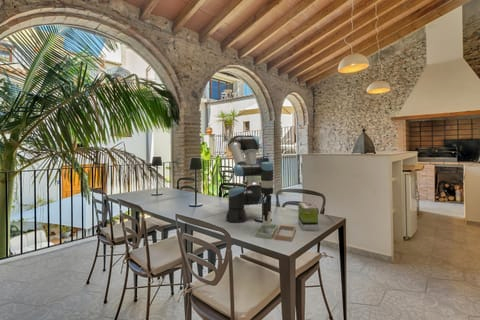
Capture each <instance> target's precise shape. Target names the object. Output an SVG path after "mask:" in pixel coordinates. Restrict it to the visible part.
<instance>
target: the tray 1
mask: <svg viewBox="0 0 480 320" xmlns="http://www.w3.org/2000/svg"><path fill="white" fill-rule="evenodd" d="M263 228H264V229H265V228H268V229H273V230H272V232H271V233H265V232H261V231H262V230H263ZM278 228H279V226H278V224H272V223H271V225H270V226H264V225H263V223H262V224H260V226H259V227H258V229H257V230H256V231H255V232H254V233H255V235H254V236H255V238H256V237H257V238H262V237H263V238H264V239H271V240H272V239H273V237H274V235H275V233H276V231H277V229H278Z"/></svg>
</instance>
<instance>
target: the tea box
mask: <svg viewBox="0 0 480 320" xmlns="http://www.w3.org/2000/svg"><path fill="white" fill-rule="evenodd" d="M297 210H298V213H297V215H298V216H297V217H298V218H297V222H298V224H299V226H300V227H301V229H302V231H318V230H319V207H318V206H316V205H315V204H314V202H311V201H310V202H309V201H308V202H298V203H297Z"/></svg>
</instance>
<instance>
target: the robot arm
mask: <svg viewBox="0 0 480 320" xmlns="http://www.w3.org/2000/svg"><path fill="white" fill-rule="evenodd" d="M227 147H228V148H227V149H228V151H229V152H230V153H231V156H232V160H233V162H234V167H233V174H234V176H236V177H240V178H241V177H246V180H247V185H246V186H245V187H244V186H237V187H232V188H230V189H229V190H228V198H227V199H228V201H227V202H228V203H227V204H228V210H227V213H226V216H225V221H226V222H229V223H232V224H233V223H234V224H240V223H243V222H246V221H247V219H248V217H247V213H246V211H245V206H250V205H251V206H253V205H254V206H255V205H262V216H263V215H264V226H269V215H268V211H270V212H271V213H272V194H274V184H275V181H274V163H273V162H272V161H262V162H261V163H257V164H255V160H256V159H257V153H258V152H259V150H260V140H259V137H258V136H257V135H252V134H250V135H248V134H247V135H246V134H245V135H235V136H233V137H232V138H230V140H229V141H228V143H227ZM259 177H260V178H259ZM259 179H260V180H259ZM261 193H262V194H264V197H263V200H262V194H261Z"/></svg>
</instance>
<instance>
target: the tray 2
mask: <svg viewBox="0 0 480 320" xmlns="http://www.w3.org/2000/svg"><path fill="white" fill-rule="evenodd" d="M296 228H297V227H296V226H291V225H290V226H289V225H282V224H281V225H279V226H278V229H277V231H276V232H275V234H274V236H273V237H274V240H279V241H286V242H287V241H288V242H292V241H293V239H294V236H295V234H296ZM281 230H283V231H291V232H292V234H291V236H290V235H282V234H281V235H280V234H279V233H280V231H281Z"/></svg>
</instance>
